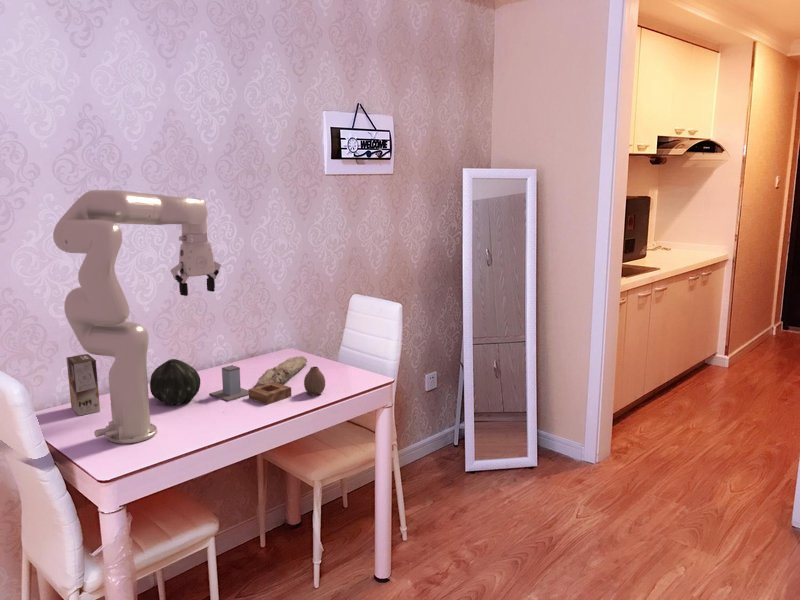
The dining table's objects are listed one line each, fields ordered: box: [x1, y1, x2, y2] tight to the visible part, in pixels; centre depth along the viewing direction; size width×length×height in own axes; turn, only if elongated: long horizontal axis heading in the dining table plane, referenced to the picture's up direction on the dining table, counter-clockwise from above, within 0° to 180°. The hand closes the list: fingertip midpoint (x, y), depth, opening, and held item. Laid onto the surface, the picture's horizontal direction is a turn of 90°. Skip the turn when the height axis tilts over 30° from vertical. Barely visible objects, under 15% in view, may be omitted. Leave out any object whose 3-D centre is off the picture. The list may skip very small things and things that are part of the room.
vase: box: [303, 366, 326, 396], centre depth 211 cm, size 7×7×9 cm
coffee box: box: [66, 353, 101, 417], centre depth 194 cm, size 9×6×16 cm
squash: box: [149, 358, 201, 406], centre depth 202 cm, size 14×15×15 cm
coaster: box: [208, 387, 249, 402], centre depth 210 cm, size 10×10×1 cm
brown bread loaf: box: [256, 355, 308, 387], centre depth 230 cm, size 35×5×10 cm
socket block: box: [247, 382, 292, 405], centre depth 207 cm, size 10×9×3 cm
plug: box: [221, 364, 242, 396], centre depth 209 cm, size 4×4×8 cm
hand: (197, 293), depth 204 cm, fingers open, 9 cm apart
